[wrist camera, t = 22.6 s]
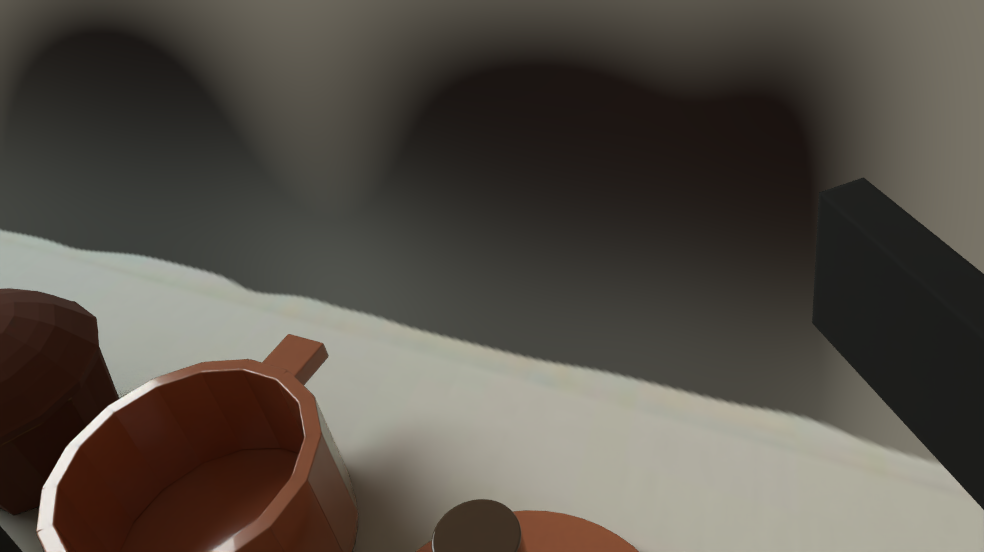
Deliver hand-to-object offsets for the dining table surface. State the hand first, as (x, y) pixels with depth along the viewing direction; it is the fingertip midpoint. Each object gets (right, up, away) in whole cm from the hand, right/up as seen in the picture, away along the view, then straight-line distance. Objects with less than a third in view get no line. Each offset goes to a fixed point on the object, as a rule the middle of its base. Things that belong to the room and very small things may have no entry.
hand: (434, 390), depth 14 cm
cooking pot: (-12, -12, +31) cm, 35 cm away
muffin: (-24, -8, +39) cm, 47 cm away
